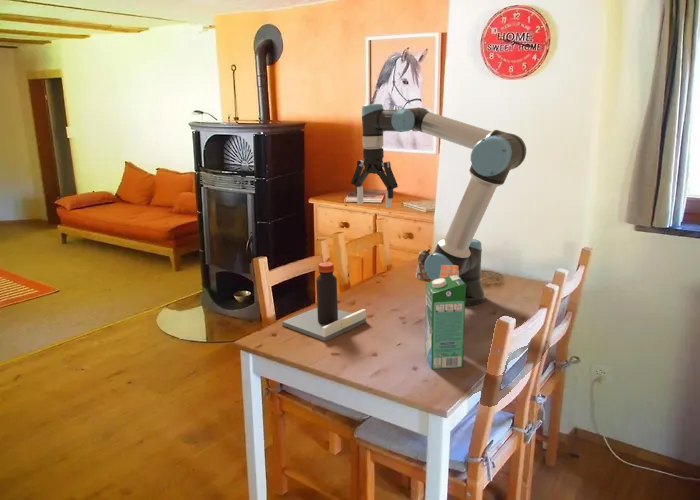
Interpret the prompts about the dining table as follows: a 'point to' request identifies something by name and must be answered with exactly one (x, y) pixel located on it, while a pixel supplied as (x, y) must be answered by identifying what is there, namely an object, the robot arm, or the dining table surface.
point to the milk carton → (445, 322)
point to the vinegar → (327, 294)
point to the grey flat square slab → (313, 328)
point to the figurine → (422, 265)
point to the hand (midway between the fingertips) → (374, 205)
